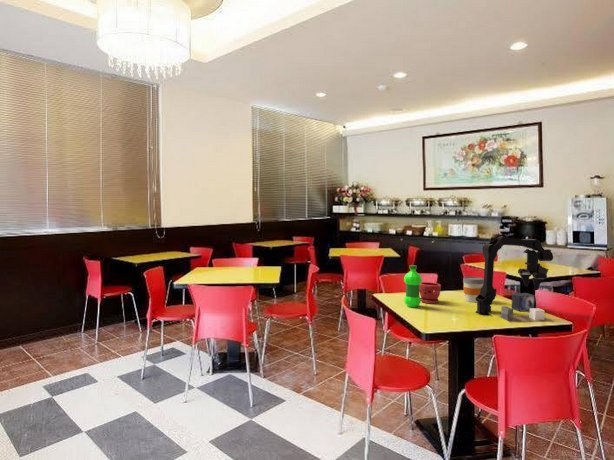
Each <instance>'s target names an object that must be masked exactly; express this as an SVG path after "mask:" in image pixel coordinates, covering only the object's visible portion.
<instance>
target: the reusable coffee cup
mask: <svg viewBox="0 0 614 460" xmlns="http://www.w3.org/2000/svg"><path fill="white" fill-rule="evenodd" d="M462 283H463V286H462V287H463V293H464V300H465V302H468V303H473V304H474V303H475V304H477V301H476V297H477V296H478V295H479V294H480V291H481V288H482V286H483V284H484V277H479V276H464V277H463V280H462Z"/></svg>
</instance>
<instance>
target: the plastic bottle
mask: <svg viewBox="0 0 614 460" xmlns="http://www.w3.org/2000/svg"><path fill="white" fill-rule="evenodd" d="M408 267H409V269H410V271H408V272H407V273H406V274H405V275H404V277H403V282H404V283H405V295H404V296H405V297H404V298H403V299H404V300H403V301H404V304H405V305H406V306H407V307H408V308H417V307H418V306H419V305H420V304H421V302H422V301H421V299H420V298H421V296H420V291H419V285H420V283H421V282H422V280H423V278H422V275H420V274H419V273H418V272H417V269H418V268H417V265H414V264H410V265H409V266H408Z"/></svg>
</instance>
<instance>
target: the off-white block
mask: <svg viewBox="0 0 614 460" xmlns="http://www.w3.org/2000/svg"><path fill="white" fill-rule="evenodd" d="M528 316H529V318H532V319H534V320H544V317H545V310H544V309H542V308H540V307H534V308H530V311H529V315H528Z"/></svg>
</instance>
